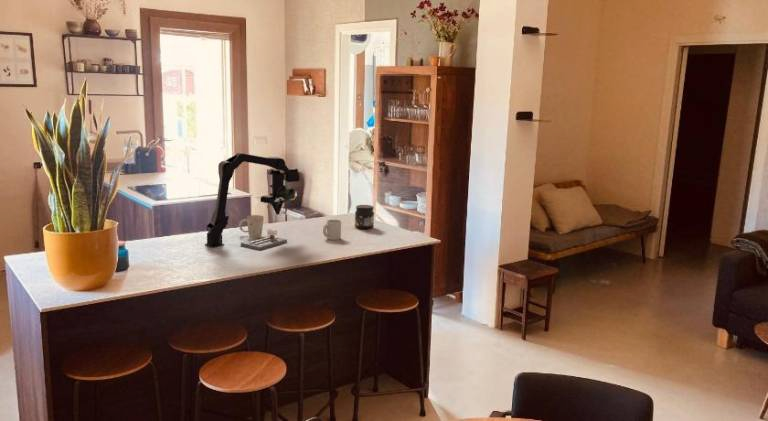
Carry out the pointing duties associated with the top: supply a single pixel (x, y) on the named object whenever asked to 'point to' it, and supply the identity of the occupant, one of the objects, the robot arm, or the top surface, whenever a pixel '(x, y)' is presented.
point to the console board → (263, 242)
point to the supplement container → (364, 217)
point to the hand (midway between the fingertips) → (277, 214)
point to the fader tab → (272, 233)
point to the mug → (253, 225)
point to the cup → (332, 229)
